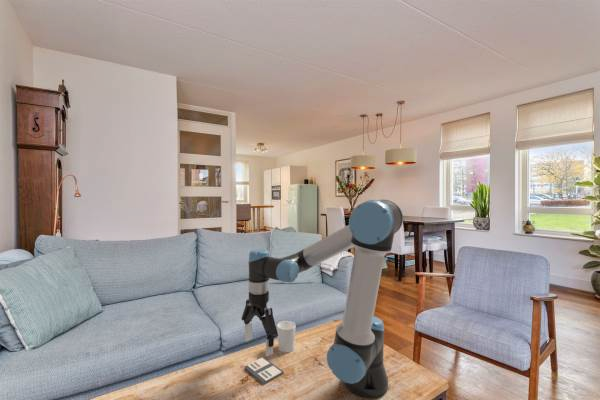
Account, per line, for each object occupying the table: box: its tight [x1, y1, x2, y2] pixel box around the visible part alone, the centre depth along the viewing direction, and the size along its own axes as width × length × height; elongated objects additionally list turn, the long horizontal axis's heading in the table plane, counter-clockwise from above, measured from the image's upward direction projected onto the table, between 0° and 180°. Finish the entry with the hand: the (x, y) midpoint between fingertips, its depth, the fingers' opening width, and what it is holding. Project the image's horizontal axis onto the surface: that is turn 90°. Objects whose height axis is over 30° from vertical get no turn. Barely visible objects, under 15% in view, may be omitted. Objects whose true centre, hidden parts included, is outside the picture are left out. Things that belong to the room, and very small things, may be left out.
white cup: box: [276, 320, 297, 353], centre depth 121 cm, size 8×8×10 cm
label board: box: [244, 357, 285, 386], centre depth 105 cm, size 12×9×1 cm
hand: (258, 346), depth 108 cm, fingers open, 13 cm apart
